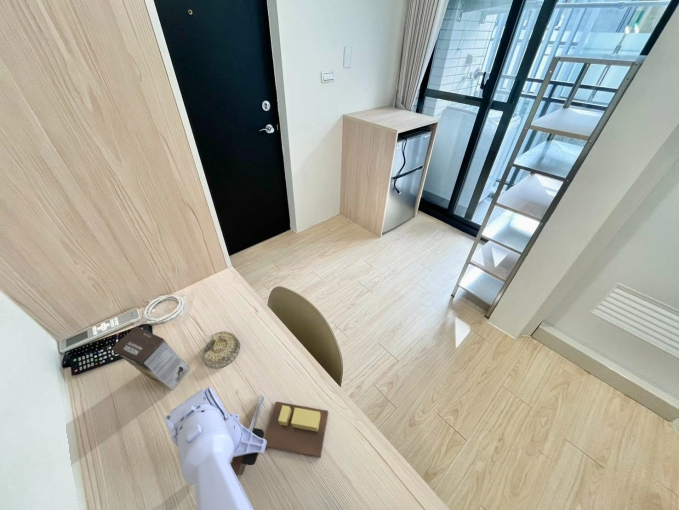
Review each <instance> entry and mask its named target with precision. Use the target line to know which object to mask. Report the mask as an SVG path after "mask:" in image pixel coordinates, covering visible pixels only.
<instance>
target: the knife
mask: <svg viewBox="0 0 679 510" xmlns="http://www.w3.org/2000/svg"><path fill="white" fill-rule="evenodd" d="M264 401H265V397H264V395H263V394H260V395H259V399H258V401H257V404H256V407H255V410H254V413H253V416H252V419H251V421H250V425H249V428H248V430H249V431H251V432H252V431H253V428H256V424H257V421H258V418H259V415H260V411H261V409H262V406H263V403H264ZM242 458H243V455H241V456H237V457H233V458H232V461H231V463H230V465H231V467H232V469H233V471H234V473H235V474H236V475H239V476H244V472H245V468H246V466H247V465H245V464H241V461H242Z"/></svg>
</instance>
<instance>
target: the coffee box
mask: <svg viewBox="0 0 679 510" xmlns="http://www.w3.org/2000/svg"><path fill="white" fill-rule="evenodd" d="M111 350H112V351H114V352H115V353H116V354H117V355H119V357H121V358H122V359H123V360H125V361H126V362H128V363H129V364H130V365H131V366H132V367H134V368H135V369H136V370H138V371H139V372H140V373H141V374H143V375H144V376H145V377H146V378H148V379H150V380H151V381H154V382H156V383H157V384H159V385H161V386H163V387H165V388H167V389H169V390H170V391H173V390H174V389H175V388H176V387H177V386H178V385H179V383H180V382H181V381H182V380H183V378H184V377H185V376H186V375H187V374H188V373H189V371H190V370H191V368H190V366H188V364H187V363H186V362H185V361H184V360H183V359H182V358H181V356H180V355H179V354H178V353H177V352H176V351H175V349H173V347H172V346H171V344H169V343H168V342H167V341H166V339H165V338H163V337H161V336H159V335H156V334H154V333H152V332H151V331H148V330H145V329H143V328H141V327H139V326H135V327H134V328H132V329H131V330H130V331H129V332H128V333H127V334H125V336H123V337H122V338H121V339H119V341H118V342H117V343H115V344H114V346H113V347H112V348H111Z"/></svg>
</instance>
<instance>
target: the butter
mask: <svg viewBox="0 0 679 510" xmlns="http://www.w3.org/2000/svg"><path fill="white" fill-rule="evenodd" d="M320 417H321V415H320V412H317V411H312V410H306V409H300V408H295V409H294V413H293V417H292V421H291V424H292V426H293V427H295V428H301V429H306V430H311V431H317V432H318V428H319V423H320Z"/></svg>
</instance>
